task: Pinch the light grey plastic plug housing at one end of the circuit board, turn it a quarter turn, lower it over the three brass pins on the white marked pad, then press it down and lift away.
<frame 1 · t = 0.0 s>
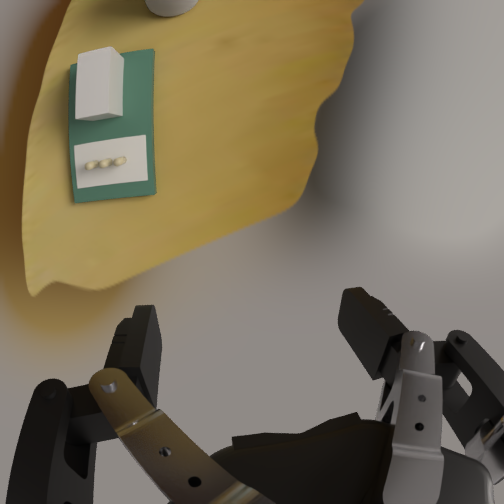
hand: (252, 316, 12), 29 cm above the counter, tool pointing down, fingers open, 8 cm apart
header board: (111, 125, 32), on the counter
plug housing: (107, 89, 29), point 1 cm above the counter, touching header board
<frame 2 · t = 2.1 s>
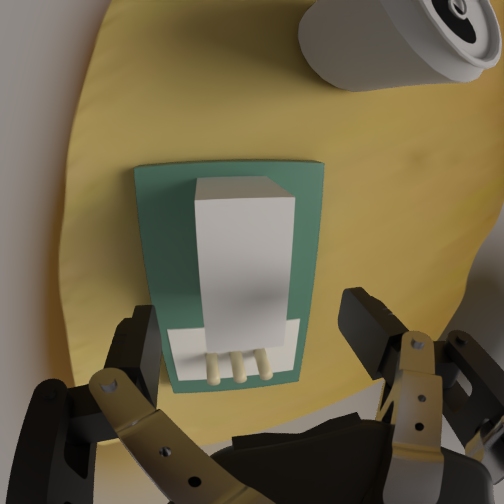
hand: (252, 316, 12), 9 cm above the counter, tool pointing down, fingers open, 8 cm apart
can: (341, 47, 16), on the counter
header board: (231, 292, 22), on the counter
plug housing: (232, 239, 19), point 1 cm above the counter, touching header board
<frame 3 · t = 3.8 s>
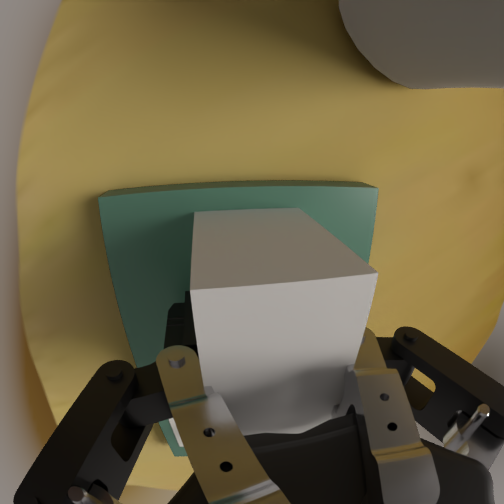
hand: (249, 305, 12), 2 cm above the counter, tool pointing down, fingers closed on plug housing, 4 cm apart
can: (390, 29, 10), on the counter
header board: (244, 355, 16), on the counter
plug housing: (248, 298, 13), point 2 cm above the counter, touching gripper, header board
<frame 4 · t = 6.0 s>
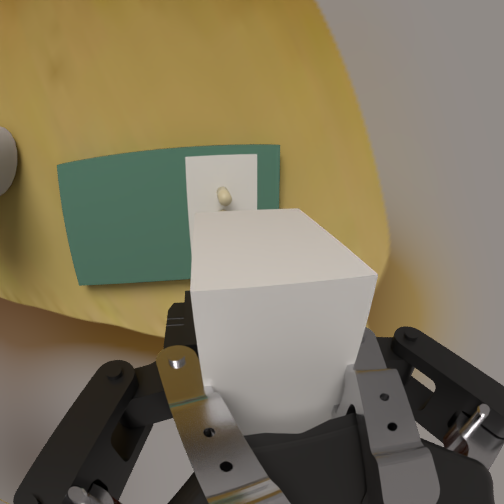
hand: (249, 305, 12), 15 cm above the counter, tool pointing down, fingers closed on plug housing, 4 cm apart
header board: (167, 214, 25), on the counter
plug housing: (247, 299, 13), point 15 cm above the counter, touching gripper
when the fingers open (2 cm above the counter, at t = 8.6 s): plug housing stays where it is, resting on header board.
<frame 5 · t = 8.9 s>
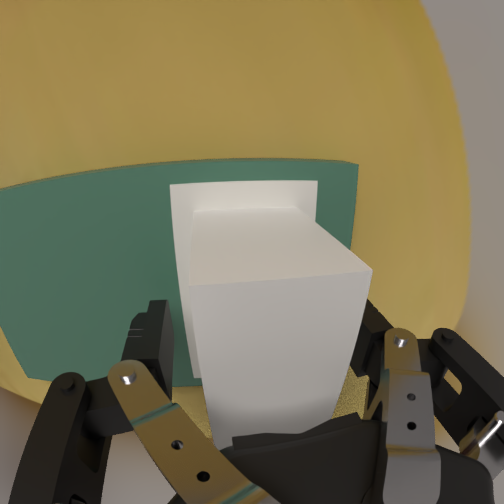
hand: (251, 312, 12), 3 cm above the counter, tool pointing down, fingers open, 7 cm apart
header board: (144, 286, 14), on the counter
plug housing: (246, 296, 13), point 2 cm above the counter, touching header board
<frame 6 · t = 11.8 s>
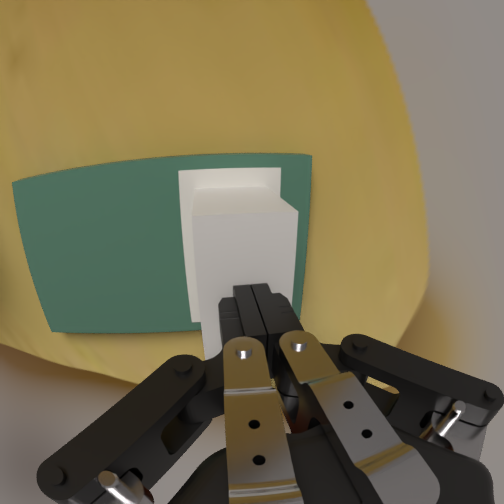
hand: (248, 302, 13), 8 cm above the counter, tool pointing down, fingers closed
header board: (156, 247, 19), on the counter
plug housing: (231, 252, 18), point 2 cm above the counter, touching gripper, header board
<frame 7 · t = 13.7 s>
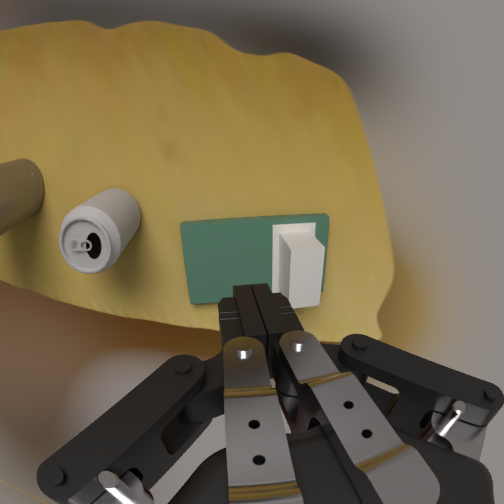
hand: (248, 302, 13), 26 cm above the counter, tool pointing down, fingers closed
can: (117, 213, 36), on the counter
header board: (256, 257, 41), on the counter
plug housing: (293, 259, 40), point 2 cm above the counter, touching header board
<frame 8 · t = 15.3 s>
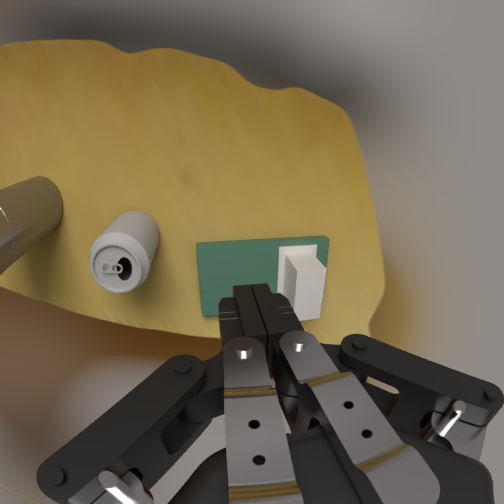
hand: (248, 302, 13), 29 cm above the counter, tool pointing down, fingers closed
can: (135, 233, 40), on the counter
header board: (263, 274, 45), on the counter
plug housing: (296, 276, 45), point 2 cm above the counter, touching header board
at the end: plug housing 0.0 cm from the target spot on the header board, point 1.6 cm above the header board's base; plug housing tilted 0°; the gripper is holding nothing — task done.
